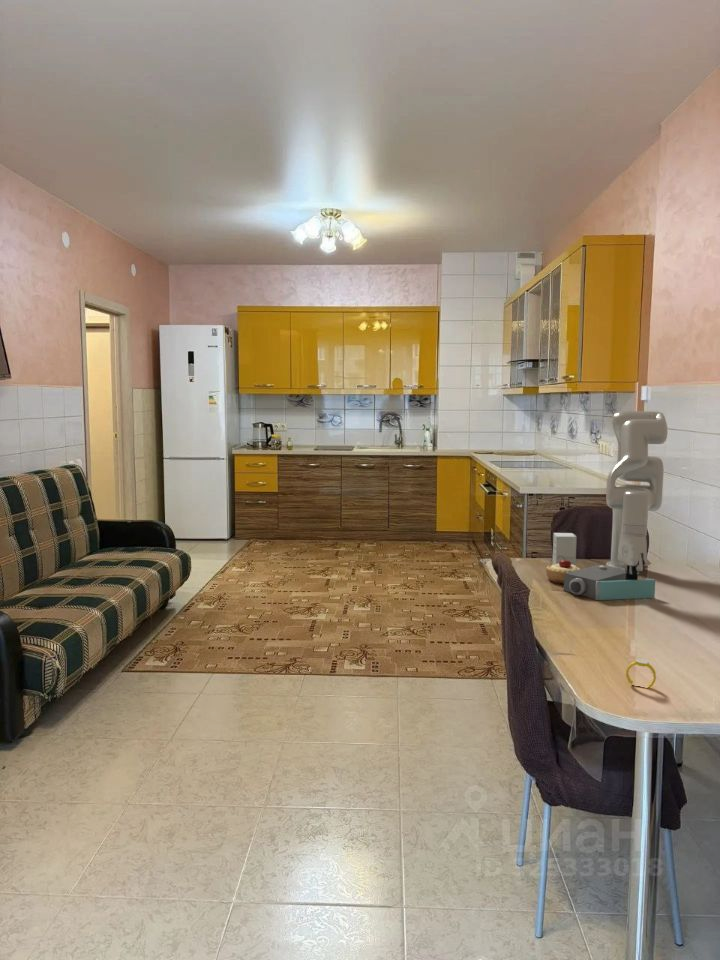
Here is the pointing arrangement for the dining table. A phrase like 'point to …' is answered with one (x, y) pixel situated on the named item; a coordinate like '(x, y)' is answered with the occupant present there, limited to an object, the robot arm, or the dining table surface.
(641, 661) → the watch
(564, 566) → the pastry
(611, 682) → the dining table surface
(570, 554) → the supplement box
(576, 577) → the camera body
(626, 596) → the side door
